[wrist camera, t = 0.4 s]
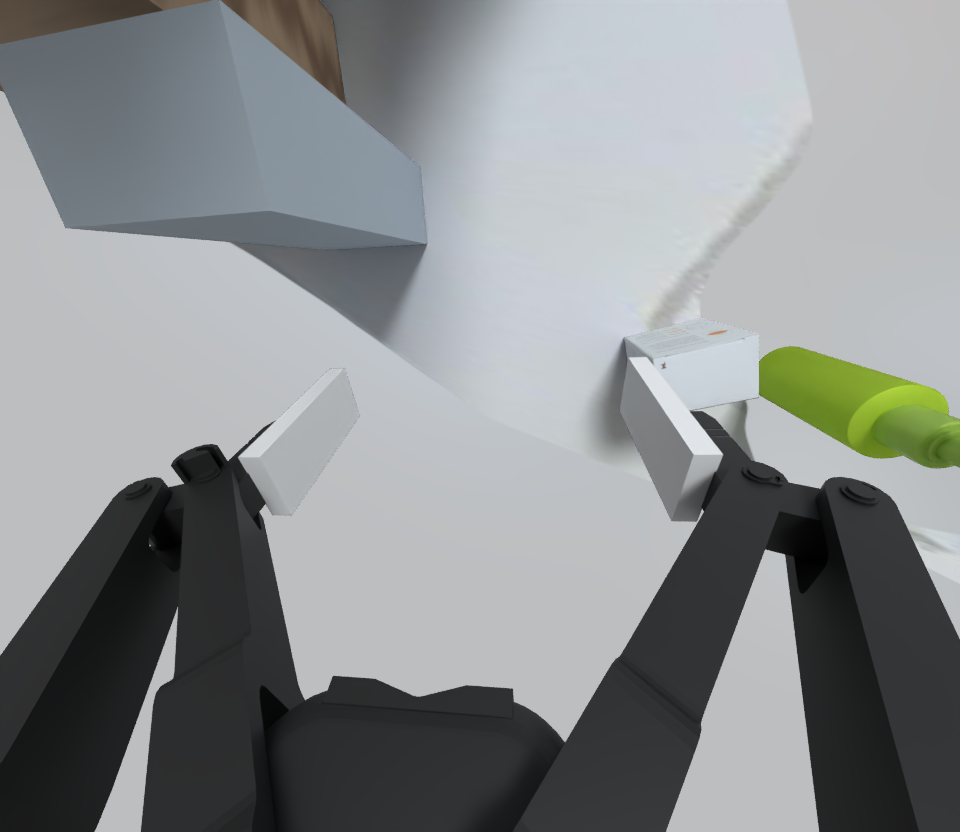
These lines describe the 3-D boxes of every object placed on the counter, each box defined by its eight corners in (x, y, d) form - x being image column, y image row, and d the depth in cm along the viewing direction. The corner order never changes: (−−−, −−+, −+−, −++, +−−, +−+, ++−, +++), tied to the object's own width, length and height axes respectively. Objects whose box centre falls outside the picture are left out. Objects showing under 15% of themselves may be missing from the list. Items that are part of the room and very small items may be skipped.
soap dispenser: (814, 328, 35) (1111, 395, 17) (816, 390, 37) (1079, 508, 19) (748, 346, 36) (952, 425, 18) (753, 405, 39) (940, 526, 21)
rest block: (313, 177, 37) (-16, 47, 15) (420, 167, 35) (218, -1, 13) (327, 250, 40) (65, 228, 18) (427, 243, 38) (270, 210, 16)
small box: (629, 382, 40) (657, 418, 30) (622, 335, 38) (649, 358, 29) (706, 366, 38) (761, 399, 28) (703, 316, 36) (761, 333, 26)
